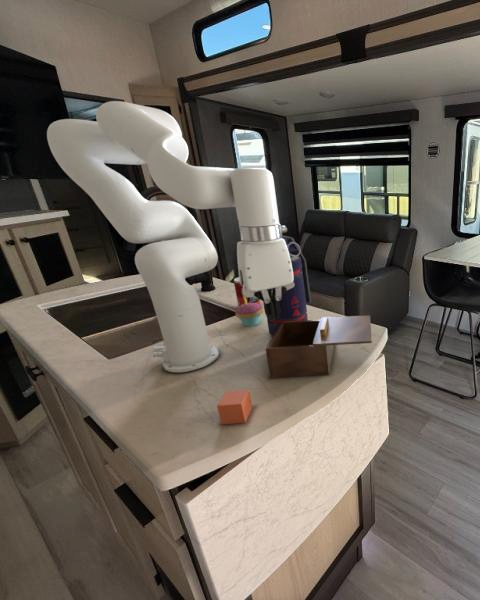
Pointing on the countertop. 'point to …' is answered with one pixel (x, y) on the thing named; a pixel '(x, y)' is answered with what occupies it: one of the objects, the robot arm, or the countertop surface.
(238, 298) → the canned food
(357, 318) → the sliding door
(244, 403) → the block
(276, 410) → the countertop surface
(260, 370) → the countertop surface
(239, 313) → the cupcake
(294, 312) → the grenade
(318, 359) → the storage box
